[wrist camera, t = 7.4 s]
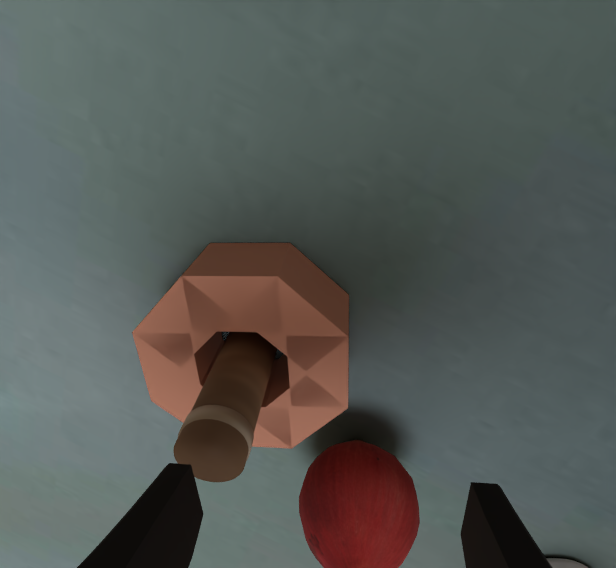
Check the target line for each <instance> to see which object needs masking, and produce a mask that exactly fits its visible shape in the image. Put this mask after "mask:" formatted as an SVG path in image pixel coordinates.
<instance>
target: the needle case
mask: <svg viewBox="0 0 616 568" xmlns="http://www.w3.org/2000/svg"><path fill="white" fill-rule="evenodd" d="M276 351H277V348H276V347H275V346H274V345H272V344H271V343H270V342H269V341H267V340H266V339H265V338H264V337H262V336H261V335H260V334H258V333H257V332H229V334H228V336H227V338H226V340H225V342H224V344H223V346H222V348H221V350H220V352H219V354H218V356H217V358H216V361H215V363H214V365H213V367H212V369H211V371H210V373H209V375H208V377H207V379H206V381H205V383H204V385H203V387H202V389H201V391H200V394H199V396H198V398H197V400H196V402H195V404H194V406H193V408H192V410H191V412H190V413H189V414H188V416H187V417H186V419H185V421H184V423H183V425H182V427H181V429H180V432H179V434H178V439H177V441H176V443H175V446H174V456H175V459H176V461H177V463H178V464H190V465H191V466H192V470H193V474H194V477H196V478H198V479H201V480H205V481H209V482H225V481H229V480H232V479H234V478H236V477H237V476H239V475H240V474H241V473H242V471H243V469H244V467H245V463H246V460H247V459H248V457H249V454H250V451H251V447H252V443H253V439H254V431H255V427H256V424H257V420H258V416H259V413H260V409H261V405H262V402H263V398H264V395H265V391H266V387H267V384H268V380H269V377H270V373H271V369H272V366H273V362H274V359H275V355H276Z"/></svg>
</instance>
